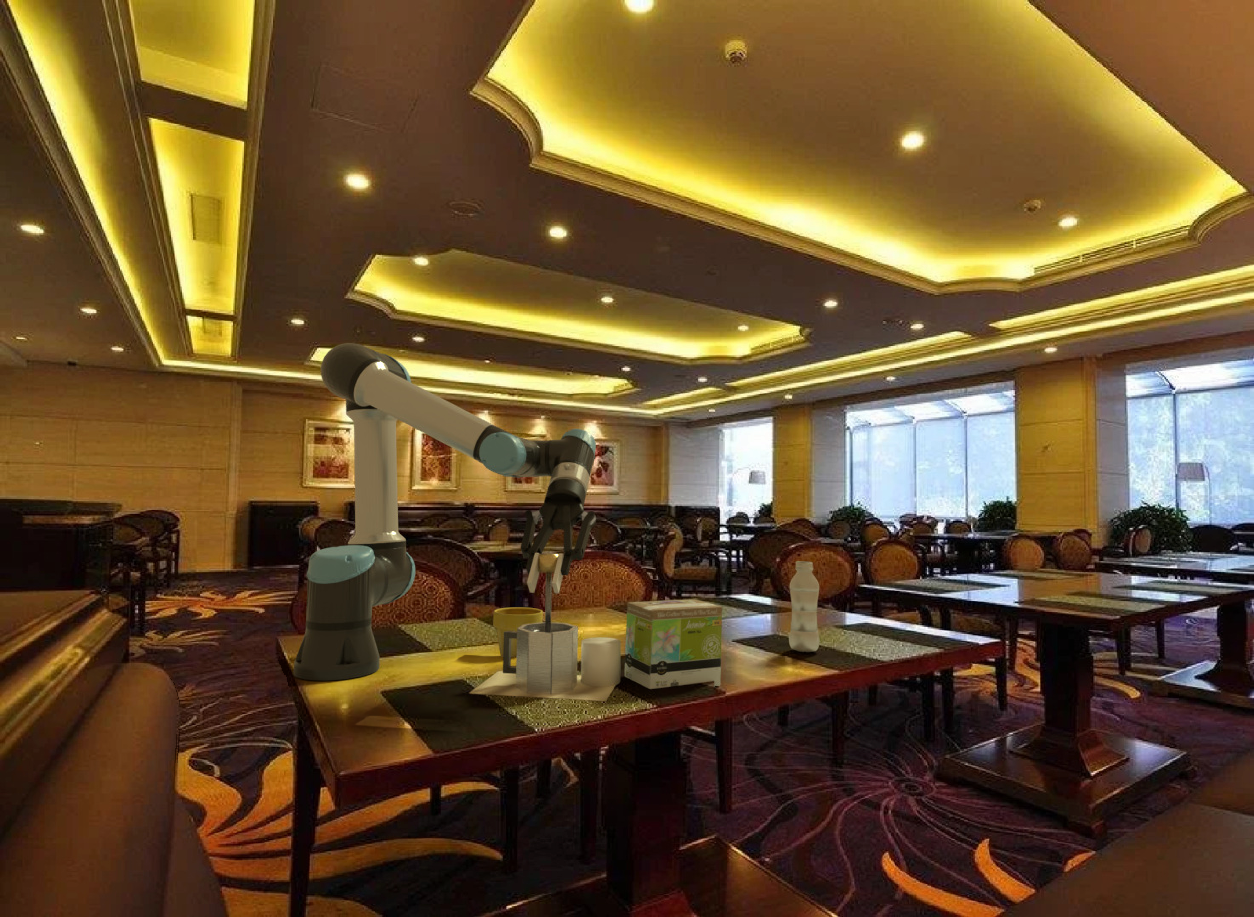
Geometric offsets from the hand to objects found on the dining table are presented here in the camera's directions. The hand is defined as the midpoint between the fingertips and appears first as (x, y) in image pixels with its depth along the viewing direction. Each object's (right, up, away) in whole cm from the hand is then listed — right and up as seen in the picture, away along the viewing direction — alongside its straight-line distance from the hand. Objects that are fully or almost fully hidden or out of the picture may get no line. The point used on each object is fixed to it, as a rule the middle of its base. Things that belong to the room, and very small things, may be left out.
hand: (543, 587), depth 115 cm
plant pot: (-9, -20, +29) cm, 37 cm away
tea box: (+22, -20, +10) cm, 31 cm away
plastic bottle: (+54, -22, +38) cm, 70 cm away
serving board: (0, -19, +4) cm, 19 cm away
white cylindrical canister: (+9, -18, +6) cm, 21 cm away
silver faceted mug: (-1, -18, +3) cm, 18 cm away
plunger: (0, -10, +3) cm, 10 cm away
